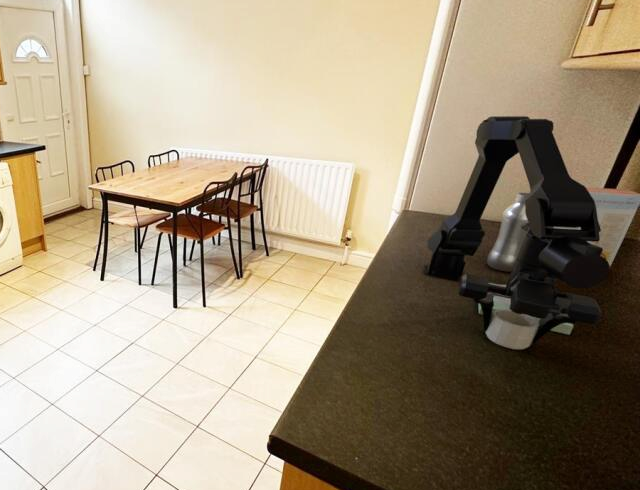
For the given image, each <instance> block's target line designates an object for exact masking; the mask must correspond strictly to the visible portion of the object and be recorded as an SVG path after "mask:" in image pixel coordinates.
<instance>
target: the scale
mask: <svg viewBox="0 0 640 490" xmlns="http://www.w3.org/2000/svg"><path fill="white" fill-rule="evenodd" d="M489 284H492V285H497V286H502V287H506V285H507V284H497V283H493V282H489ZM493 301H494V306H493V309H492V312H493V311H494V310H496V309H509V310H510V304H511V299H509V298H505V297H500V296H494V298H493ZM477 304H478V315H482V316H483V311H482V308H481V305H480V304H479V303H477ZM491 315H492V313H491ZM529 316H530V315H529ZM531 317H533V318H535V319H536V320H537V321H538V322H539V320H540V318H536V317H534V316H531ZM573 329H574V324H570V323H564V324H559V325H557V326H556V327H554V328H553V329H551V330H550V332H556V333H559V334H564V335H568V336H570V335H571V333H572V331H573Z"/></svg>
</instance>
